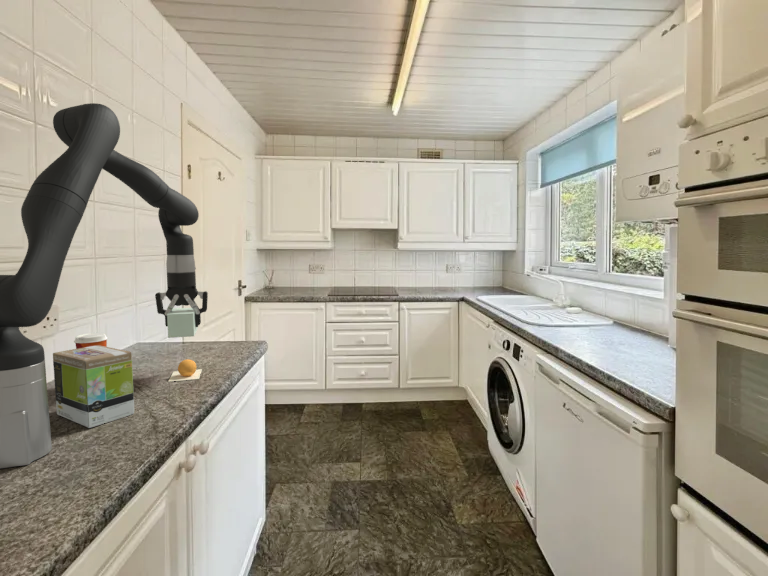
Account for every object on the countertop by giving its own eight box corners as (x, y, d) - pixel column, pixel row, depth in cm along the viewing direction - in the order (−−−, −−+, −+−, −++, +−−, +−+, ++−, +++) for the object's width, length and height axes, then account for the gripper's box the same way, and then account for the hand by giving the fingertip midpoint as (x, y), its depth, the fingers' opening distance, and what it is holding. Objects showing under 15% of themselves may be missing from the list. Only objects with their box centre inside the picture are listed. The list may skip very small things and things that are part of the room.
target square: (199, 379, 121) (199, 378, 121) (168, 382, 119) (168, 381, 119) (201, 369, 131) (201, 369, 131) (173, 372, 128) (173, 371, 128)
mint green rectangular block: (194, 336, 119) (193, 313, 119) (168, 337, 117) (167, 314, 116) (197, 328, 130) (197, 307, 129) (174, 329, 128) (173, 308, 127)
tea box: (136, 413, 97) (133, 350, 95) (88, 430, 88) (83, 361, 87) (102, 401, 104) (98, 342, 103) (55, 415, 96) (50, 351, 94)
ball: (198, 369, 128) (196, 378, 124) (181, 371, 127) (177, 380, 122) (196, 355, 126) (193, 364, 122) (178, 357, 125) (175, 366, 120)
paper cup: (93, 390, 112) (90, 338, 111) (69, 388, 113) (66, 337, 112) (117, 381, 120) (114, 332, 118) (95, 379, 121) (91, 331, 120)
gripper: (150, 271, 116) (153, 331, 118) (207, 271, 121) (209, 328, 122) (155, 270, 123) (158, 326, 125) (208, 269, 128) (210, 323, 129)
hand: (183, 327), depth 123 cm, fingers closed on mint green rectangular block, 6 cm apart
